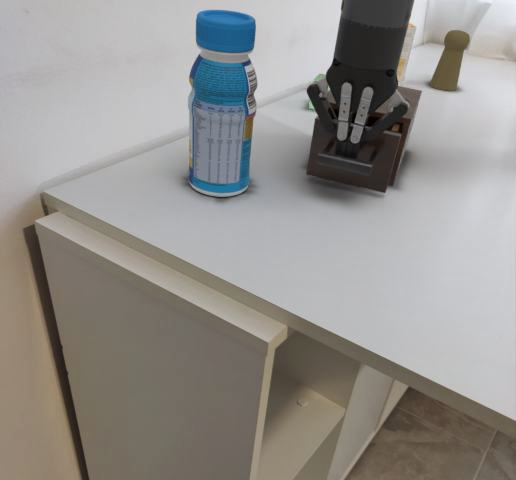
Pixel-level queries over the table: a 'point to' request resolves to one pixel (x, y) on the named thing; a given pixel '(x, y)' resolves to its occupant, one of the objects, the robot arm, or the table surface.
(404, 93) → the cabinet
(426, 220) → the table surface
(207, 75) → the beverage bottle
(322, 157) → the drawer
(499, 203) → the table surface
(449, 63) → the olive pawn
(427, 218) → the table surface
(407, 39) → the supplement box
